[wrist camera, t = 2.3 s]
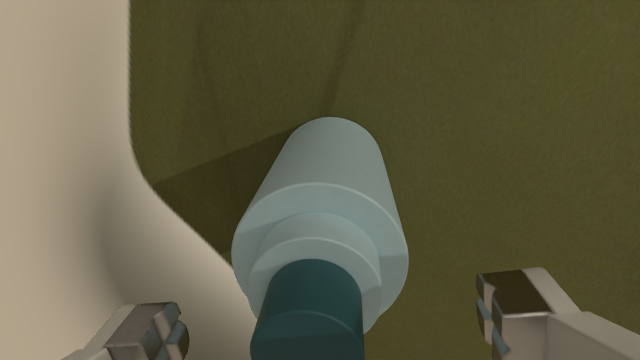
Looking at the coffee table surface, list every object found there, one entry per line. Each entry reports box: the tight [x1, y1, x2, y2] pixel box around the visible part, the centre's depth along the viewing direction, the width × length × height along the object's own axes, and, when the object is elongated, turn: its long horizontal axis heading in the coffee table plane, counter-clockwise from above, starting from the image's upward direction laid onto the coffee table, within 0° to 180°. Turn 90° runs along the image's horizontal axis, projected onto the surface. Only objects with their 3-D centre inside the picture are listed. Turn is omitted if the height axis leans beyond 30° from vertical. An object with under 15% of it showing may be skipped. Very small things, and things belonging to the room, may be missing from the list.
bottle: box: [231, 117, 409, 360], centre depth 14 cm, size 6×6×12 cm
